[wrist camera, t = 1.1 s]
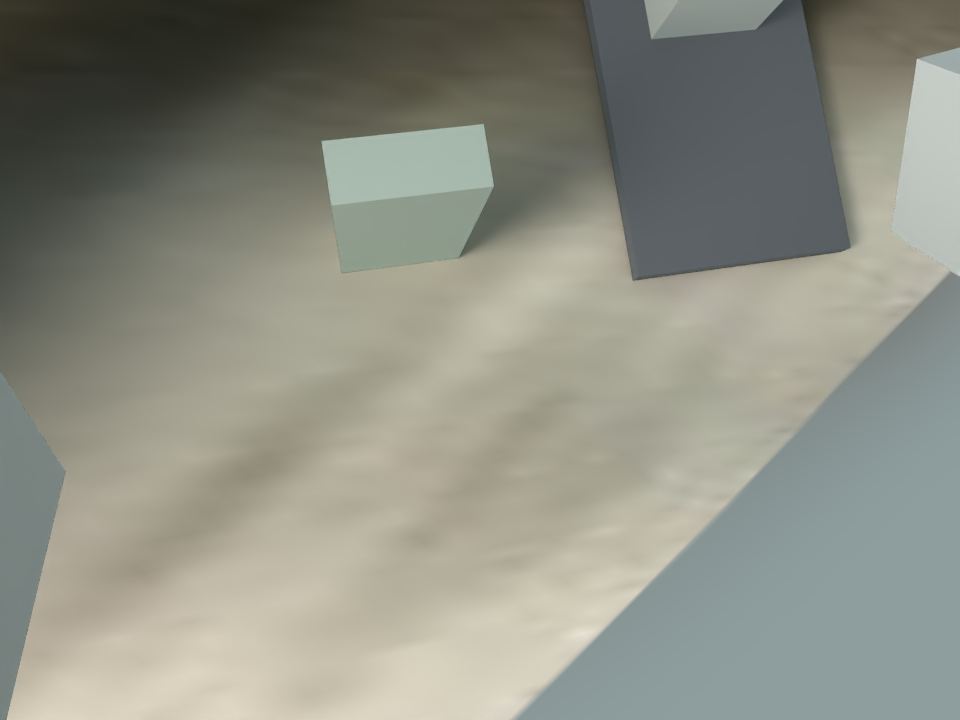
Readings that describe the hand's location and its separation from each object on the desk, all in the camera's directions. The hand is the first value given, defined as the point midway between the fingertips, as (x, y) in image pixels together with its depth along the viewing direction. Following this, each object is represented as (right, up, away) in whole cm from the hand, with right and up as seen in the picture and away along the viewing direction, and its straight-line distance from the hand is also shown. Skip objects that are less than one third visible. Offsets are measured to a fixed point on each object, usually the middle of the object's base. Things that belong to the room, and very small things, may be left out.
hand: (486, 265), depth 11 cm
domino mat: (+10, +15, +26) cm, 32 cm away
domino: (-4, +4, +23) cm, 24 cm away
